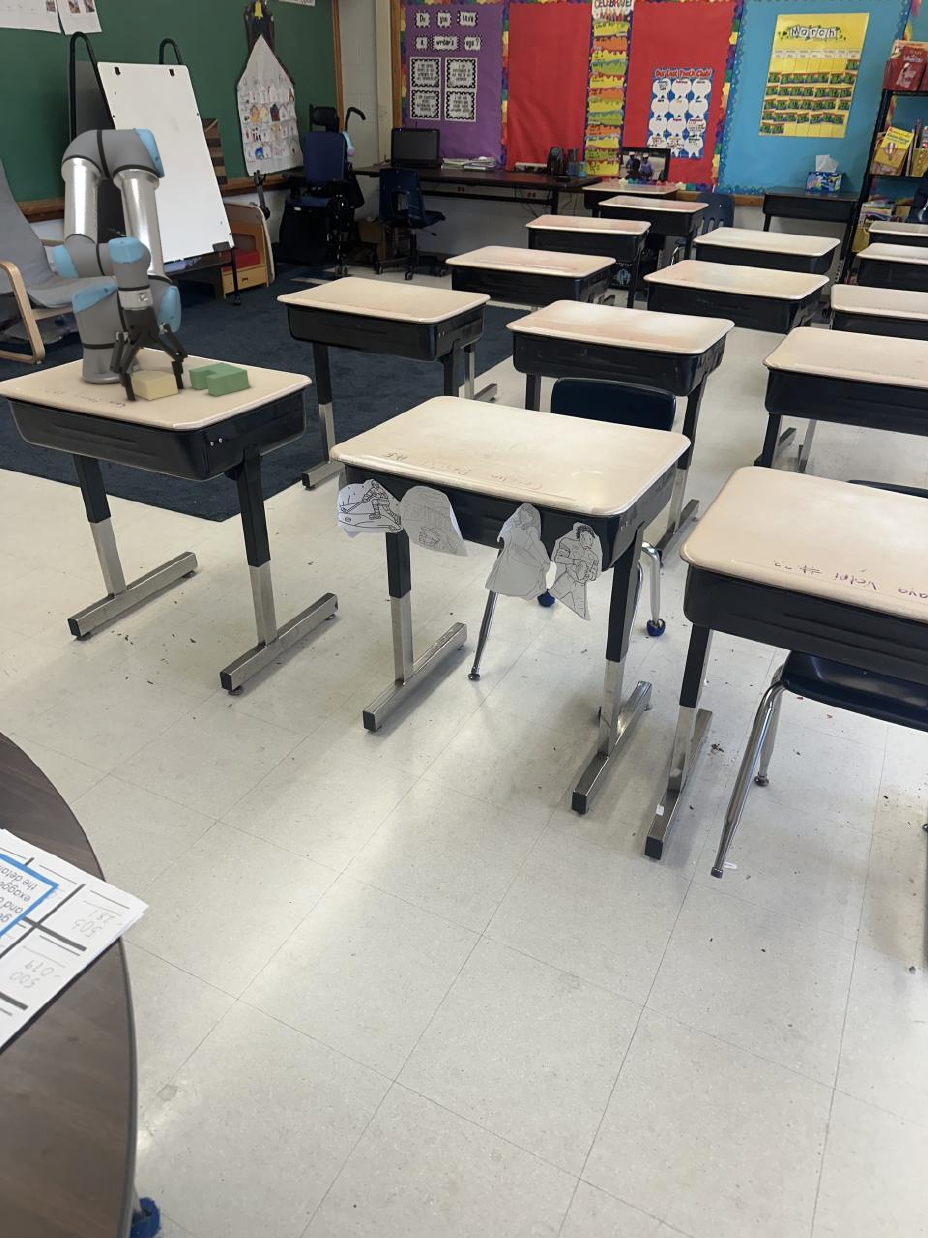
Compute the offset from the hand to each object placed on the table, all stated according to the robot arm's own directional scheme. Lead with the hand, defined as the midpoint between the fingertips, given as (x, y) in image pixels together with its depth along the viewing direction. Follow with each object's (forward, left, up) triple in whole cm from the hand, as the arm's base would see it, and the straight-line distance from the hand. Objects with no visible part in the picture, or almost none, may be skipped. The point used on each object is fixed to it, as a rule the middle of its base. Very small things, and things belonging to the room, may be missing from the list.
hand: (156, 393), depth 220 cm
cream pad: (-2, 0, 0) cm, 2 cm away
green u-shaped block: (+8, +14, 0) cm, 16 cm away
